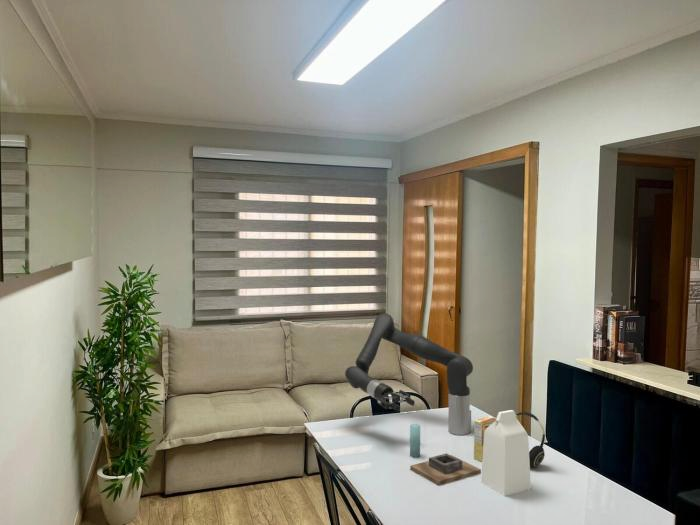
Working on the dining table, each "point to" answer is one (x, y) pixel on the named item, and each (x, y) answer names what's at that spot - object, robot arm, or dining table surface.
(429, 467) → the wooden peg socket board
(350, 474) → the dining table surface
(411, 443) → the teal peg
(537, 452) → the headphones
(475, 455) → the candy box
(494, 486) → the milk
